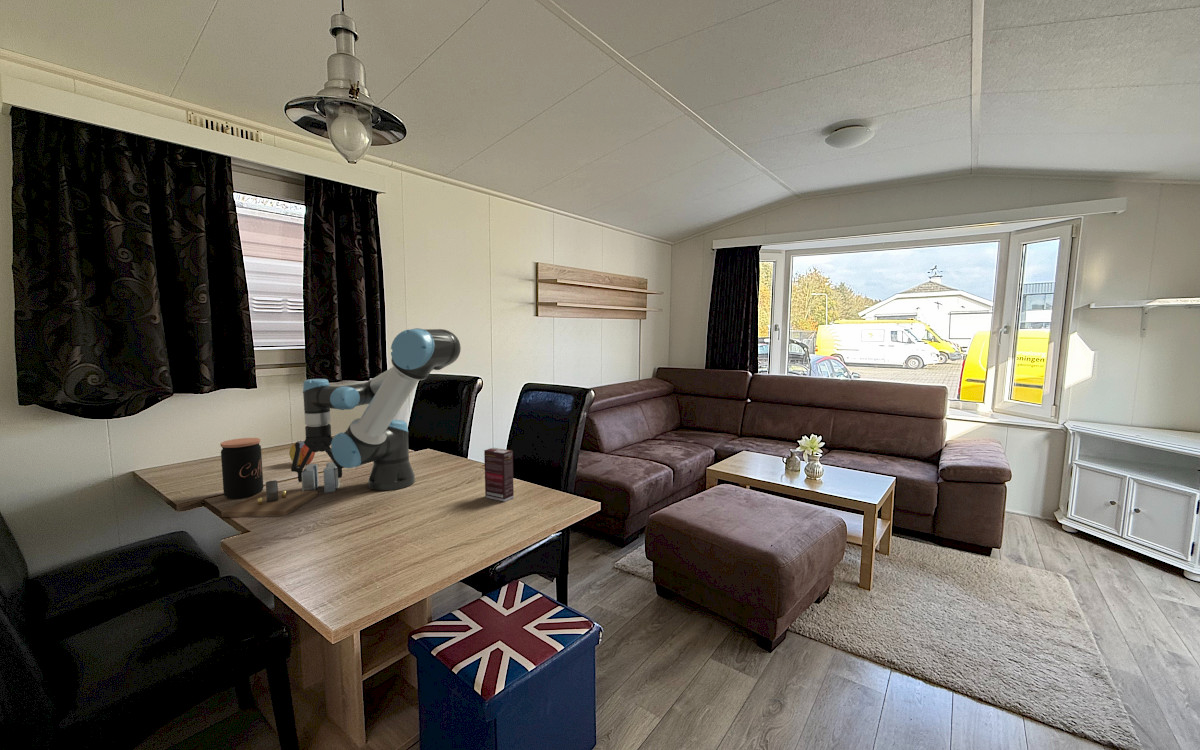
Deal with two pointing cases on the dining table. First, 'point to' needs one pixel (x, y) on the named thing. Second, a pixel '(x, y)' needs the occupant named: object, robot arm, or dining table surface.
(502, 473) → the supplement box
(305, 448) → the apple
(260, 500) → the dowel pins
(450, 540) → the dining table surface
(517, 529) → the dining table surface
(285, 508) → the post base
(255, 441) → the coffee jar
